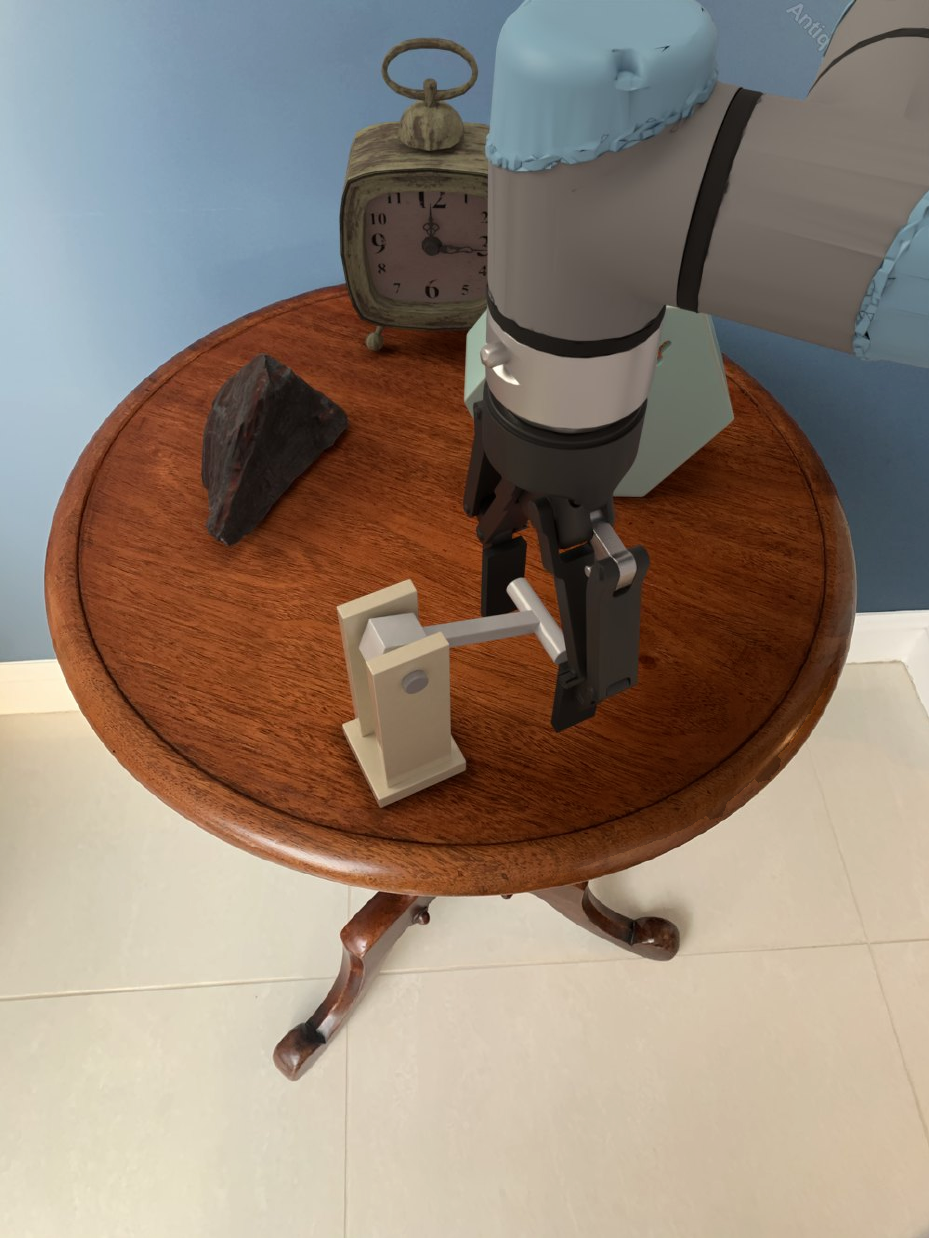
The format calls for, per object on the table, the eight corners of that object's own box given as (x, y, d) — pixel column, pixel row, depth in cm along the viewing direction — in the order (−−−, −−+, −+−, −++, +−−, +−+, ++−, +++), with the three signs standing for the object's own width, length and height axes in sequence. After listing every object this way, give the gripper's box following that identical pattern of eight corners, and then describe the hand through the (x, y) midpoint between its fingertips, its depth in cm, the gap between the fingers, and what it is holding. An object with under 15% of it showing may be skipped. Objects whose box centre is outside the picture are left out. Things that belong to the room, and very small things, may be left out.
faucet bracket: (426, 698, 65) (419, 566, 54) (466, 770, 62) (467, 645, 51) (343, 733, 64) (318, 604, 53) (380, 808, 61) (362, 688, 49)
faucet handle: (519, 597, 61) (532, 570, 60) (567, 668, 58) (582, 641, 57) (344, 623, 55) (354, 593, 53) (388, 704, 52) (399, 675, 50)
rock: (359, 423, 81) (349, 332, 74) (232, 568, 72) (206, 481, 65) (286, 395, 84) (270, 304, 76) (154, 533, 74) (120, 444, 67)
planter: (593, 469, 85) (776, 300, 71) (598, 536, 80) (795, 369, 66) (428, 381, 78) (595, 173, 64) (423, 448, 73) (602, 240, 59)
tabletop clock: (352, 362, 86) (319, 64, 66) (361, 300, 92) (333, 7, 72) (515, 365, 86) (532, 67, 66) (515, 303, 92) (530, 10, 71)
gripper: (394, 278, 49) (411, 567, 67) (621, 575, 37) (569, 827, 56) (525, 241, 51) (508, 531, 69) (779, 511, 39) (679, 774, 58)
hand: (535, 663), depth 62 cm, fingers open, 9 cm apart
